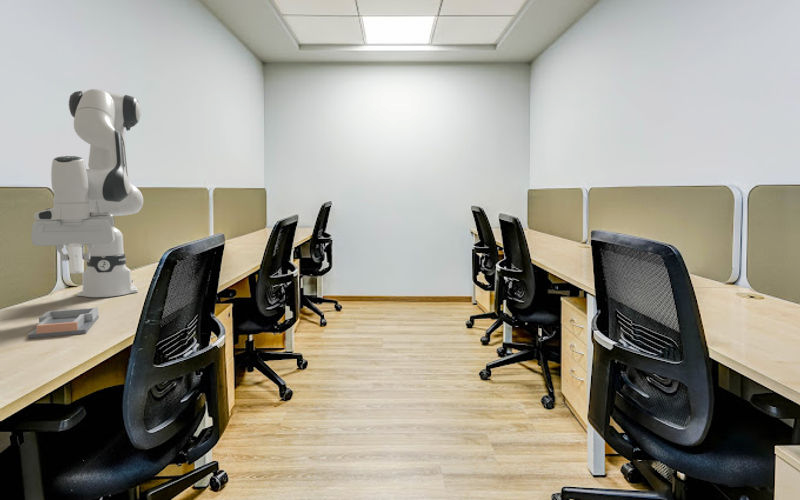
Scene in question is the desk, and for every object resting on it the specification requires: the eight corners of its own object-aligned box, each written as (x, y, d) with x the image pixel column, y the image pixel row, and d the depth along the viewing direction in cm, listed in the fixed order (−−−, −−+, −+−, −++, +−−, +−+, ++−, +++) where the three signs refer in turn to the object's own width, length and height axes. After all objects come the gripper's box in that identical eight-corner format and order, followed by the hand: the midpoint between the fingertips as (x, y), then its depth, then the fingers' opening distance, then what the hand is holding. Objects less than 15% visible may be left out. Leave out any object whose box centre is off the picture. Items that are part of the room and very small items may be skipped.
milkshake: (92, 271, 146) (90, 238, 144) (75, 274, 141) (72, 240, 139) (81, 270, 147) (79, 237, 146) (64, 273, 142) (61, 239, 141)
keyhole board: (48, 321, 136) (47, 311, 135) (98, 317, 140) (97, 307, 140) (28, 338, 119) (27, 326, 119) (85, 333, 124) (85, 321, 124)
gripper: (115, 211, 148) (118, 256, 150) (33, 212, 140) (38, 260, 142) (112, 212, 143) (115, 259, 144) (27, 213, 135) (31, 263, 137)
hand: (76, 259), depth 143 cm, fingers closed on milkshake, 4 cm apart
